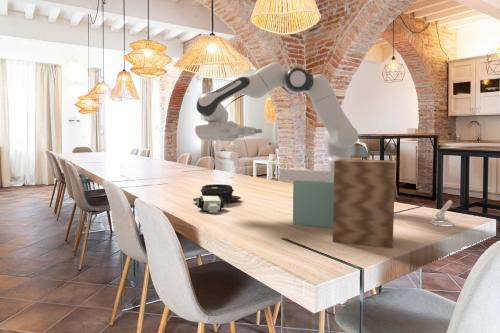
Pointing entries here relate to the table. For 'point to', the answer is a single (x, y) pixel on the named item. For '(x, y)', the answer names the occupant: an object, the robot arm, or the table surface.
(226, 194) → the casserole
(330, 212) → the mint green rectangular block
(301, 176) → the rail
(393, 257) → the table surface
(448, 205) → the hook
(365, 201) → the stand
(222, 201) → the pneumatic valve
